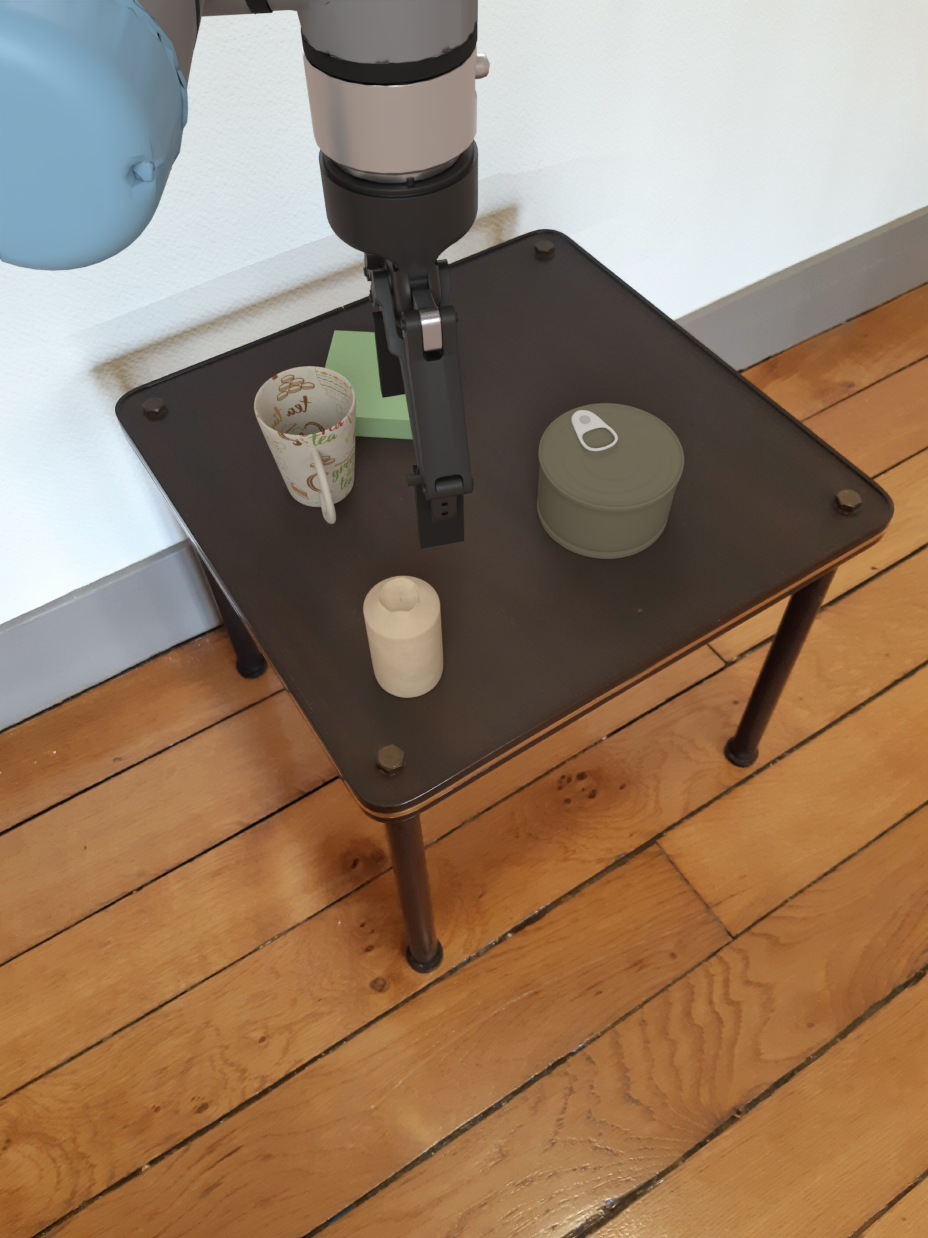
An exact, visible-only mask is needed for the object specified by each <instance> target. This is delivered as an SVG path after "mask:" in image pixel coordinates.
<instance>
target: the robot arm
mask: <svg viewBox="0 0 928 1238" xmlns="http://www.w3.org/2000/svg"><path fill="white" fill-rule="evenodd" d="M279 11H282V12H283V11H292V12H296V14H297V18H298V21H299V25H300V36H301V45H300V46H301V53H302V60H303V69H304V74H305V75H304V76H305V81H306V90H307V97H308V104H309V111H310V118H311V125H312V126H311V127H312V133H313V138H314V140H315V143H316V146H317V147H318V148H319V152H318V164H319V171H320V179H321V185H322V192H323V199H324V207H325V213H326V214H325V215H326V219H327V222H328V224H329V227H330V228H331V230H332V231H333V233H334V234H335V235H336V237H338V239H340V241H342V242H343V243H345V244H346V245H348V246H349V247H350V248H353V249H355V250H357V251H359V252H362V253H363V260H364V261H363V263H364V264H363V265H364V267H362V272H363V276H364V277H365V278H366V281H367V282H370V288H369V293H368V298H369V303H371V304H372V307H373V308H379V311H373V312H371V314H372V324H373V332H374V334H375V343H376V352H377V361H378V370H379V380H380V389H381V394H382V398H385V397H391V396H397V395H404V394H405V395H406V402H407V408H408V414H409V420H410V426H411V432H412V438H413V439H412V444H413V449H414V455H415V456H414V457H415V462H416V464H413V465H412V472H411V473H406V474H404V478H405V483H406V487H408V488H409V487H413V486H414V500H415V511H416V512H415V513H416V521H417V522H416V524H417V525H416V526H417V537H418V543H419V547H420V550H423V549H426V548H427V549H428V548H434V547H439V546H444V545H450V544H454V543H461V542H465V503H464V500H465V499H464V498H465V496H464V495H467V494H473V492H474V486H475V482H474V477H473V476H472V470H471V469H472V468H471V460H470V451H469V450H470V449H469V442H468V435H467V433H468V432H467V424H466V415H465V406H464V405H465V404H464V399H463V397H464V395H463V389H462V387H463V385H462V379H461V369H460V360H459V346H458V324H457V323H458V322H459V315H458V311H457V310H456V308H455V307H456V306H454V304H453V303H450V297H449V296H450V293H451V291H452V286H453V285H452V278H451V272H450V271H451V270H450V265H449V261H448V259H447V258H443V259H442V258H441V259H439V257H440V256H441V255H442V254H443V253H444V252H445V251H446V250H447V249H449V248H450V247H451V246H452V245H454V244H456V243H458V242H459V241H460V240H461V239H463V237H465V235H467V233H469V231H470V230H471V228H472V227H473V226H474V224H475V221H476V219H477V217H478V216H477V215H478V211H479V147H478V145H477V142H476V140H475V137H476V135H477V129H478V128H477V127H478V94H477V90H476V80H481V79H484V78H486V77H488V75H489V73H490V66H491V63H490V61H489V58H488V56H487V54H486V53H481V52H478V48H477V43H478V33H479V31H478V30H479V29H478V21H479V19H478V18H479V0H0V262H2V263H5V264H8V265H11V266H15V267H18V268H24V269H29V270H35V271H51V272H55V271H72V270H77V269H82V268H83V269H84V268H87V267H90V266H93V265H96V264H99V263H102V262H104V261H106V260H109V259H111V258H113V257H114V256H117V255H118V254H120V253H121V252H122V251H124V250H125V249H127V248H129V247H130V246H131V245H132V244H133V243H134V242H135V241H136V240H137V239H138V238H139V237H141V236H142V234H143V233H144V231H145V230H146V229H147V228H148V226H149V224H150V223H151V221H152V219H153V218H154V216H155V213H156V212H157V209H158V207H159V205H160V203H161V200H162V197H163V193H164V191H165V188H166V185H167V182H168V180H169V177H170V174H171V171H172V169H173V166H174V164H175V162H176V160H177V158H178V156H179V155H180V153H181V148H182V141H183V134H184V128H185V127H186V125H187V124H188V117H189V95H188V86H189V79H190V74H191V73H190V72H191V69H192V62H193V56H194V52H195V48H196V44H197V39H198V35H199V32H200V31H199V30H200V26H201V22H202V18H203V17H220V16H222V17H223V16H239V15H240V16H241V15H260V14H273V12H279Z"/></svg>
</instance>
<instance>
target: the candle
mask: <svg viewBox="0 0 928 1238" xmlns="http://www.w3.org/2000/svg"><path fill="white" fill-rule="evenodd" d="M362 606H363V607H362V611H363V618H364V623H365V629H366V634H367V641H368V646H369V647H368V648H369V652H370V658H371V664H372V668H373V674H374V677H375V679H376V681H377V683H378V684H379V686H380V687H381V688H382V689H383V690H384V691H385V692H386V693H389V694H390V695H393V696H395V697H399V698H405V699H409V698H410V699H411V698H417V697H420V696H423V695H425V694H427V693H428V692H430V691H432V690H433V689H434V688H435V687H436V686H437V684H438V683H439V681H440V680H441V678H442V675H443V671H444V649H443V632H442V631H443V630H442V629H443V628H442V616H441V615H442V614H441V601H440V597H439V594H438V593H437V591H436V590H435V589H434V587H433V586H432V585H431V584H430V583H428V582H427V581H425V580H423V579H421V578H419V577H415V576H412V575H411V576H410V575H396V576H391V577H388V578H385V579H383V580H381V581H379V582H377V584H375V585H374V586H373V587H372V588H371V589H369V591H368V592H367V594H366V596H365V598H364V601H363V605H362Z"/></svg>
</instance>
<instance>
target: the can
mask: <svg viewBox="0 0 928 1238" xmlns="http://www.w3.org/2000/svg"><path fill="white" fill-rule="evenodd" d="M537 456H538V457H537V458H538V464H539V468H538V483H537V484H538V485H537V497H536V513H537V517H538V519H539V522H540V524H541V526H542V528H543V530H544V531H545V533H547V535H548V536H549V537H550V538H551V539H552V540H553V541H554V542H556V543H557V544H558V545H560V546H561V547H562V548H564V549H566V550H568V551H570V552H572V553H574V554H577V555H580V556H583V557H587V558H592V559H599V560H615V559H623V558H626V557H627V558H628V557H631V556H634V555H637V554H639V553H641V552H643V551H644V550H646V549H648V548H649V547H651V546H652V545H653V544H654V543H656V541H658V539H659V538H660V537H661V535H662V534H663V532H664V530H665V528H666V526H667V524H668V519H669V515H670V511H671V507H672V504H673V500H674V497H675V494H676V493H675V492H676V490H677V485H678V484H679V482H680V480H681V478H682V475H683V473H684V472H683V471H684V467H685V454H684V449H683V446H682V444H681V442H680V439H679V438H678V436H677V435H676V433H675V432H674V431H673V429H672V428H671V427H670V426H669V425H668V424H667V423H665V422H664V421H663V420H661V419H660V418H658V417H657V416H656V415H654V414H652V413H650V412H648V411H646V410H643V409H640V408H638V407H634V406H631V405H627V404H621V403H612V402H601V403H591V404H586V405H580V406H578V407H575V408H572V409H570V410H568V411H566V412H564V413H562V414H561V415H559V416H558V417H556V418H555V419H554V420H552V421H551V423H550V424H548V426H547V427H546V429H544V432H543V434H542V435H541V438H540V441H539V445H538V454H537Z"/></svg>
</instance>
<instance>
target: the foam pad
mask: <svg viewBox="0 0 928 1238" xmlns="http://www.w3.org/2000/svg"><path fill="white" fill-rule="evenodd" d="M324 368H327V369H330V370H333V371H335V372H337V373H339V374H341V375H342V376H344V377H345V378H346V379H347V380H348V381H349V382H350V384H351V385H352V387H353V389H354V392H355V397H356V429H355V437H364V438H381V439H396V440H397V439H399V440H413V438H412V432H411V426H410V420H409V414H408V408H407V402H406V395H405V394H404V395H397V396H391V397H385V398H382V394H381V389H380V380H379V370H378V361H377V352H376V343H375V334H374V331H358V330H357V331H356V330H355V331H354V330H339V329H338V330H336V329H335V330H334V332H333V335H332V338H331V343H330V346H329V350H328V353H327V358H326V362H325V366H324Z"/></svg>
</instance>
